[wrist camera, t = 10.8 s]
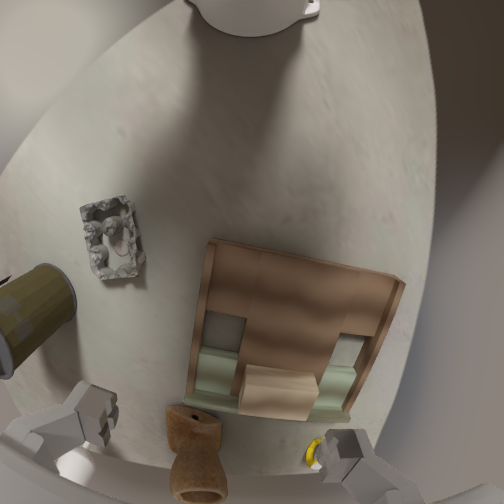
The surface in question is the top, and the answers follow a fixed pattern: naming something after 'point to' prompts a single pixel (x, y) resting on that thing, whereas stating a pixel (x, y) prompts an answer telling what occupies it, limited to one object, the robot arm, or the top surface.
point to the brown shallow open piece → (288, 324)
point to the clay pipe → (195, 456)
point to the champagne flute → (77, 465)
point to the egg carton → (110, 228)
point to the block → (277, 393)
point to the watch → (309, 455)
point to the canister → (32, 313)
